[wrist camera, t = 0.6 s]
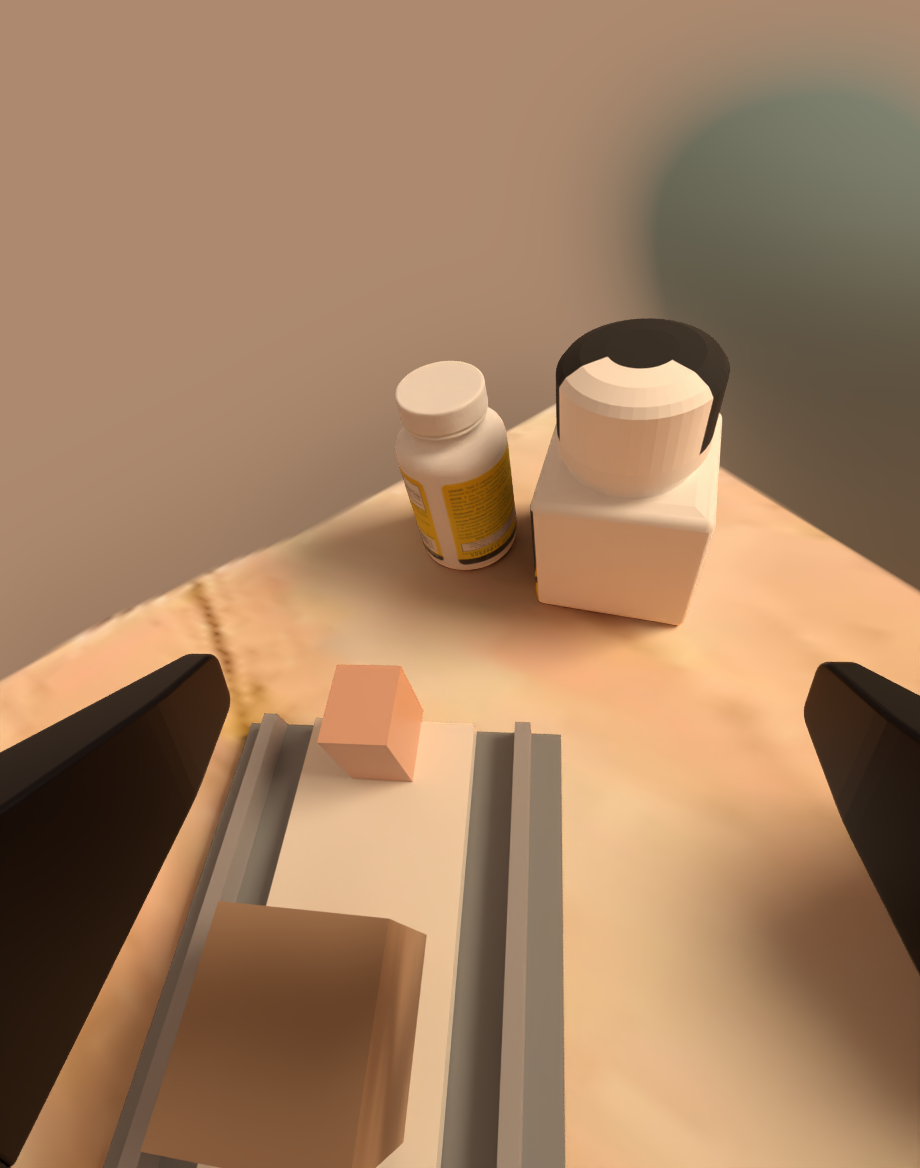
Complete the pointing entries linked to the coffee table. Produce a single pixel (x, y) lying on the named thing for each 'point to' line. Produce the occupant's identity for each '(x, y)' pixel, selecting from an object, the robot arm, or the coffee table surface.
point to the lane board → (485, 960)
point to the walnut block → (293, 1042)
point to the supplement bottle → (455, 465)
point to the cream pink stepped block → (389, 854)
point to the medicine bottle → (631, 471)
